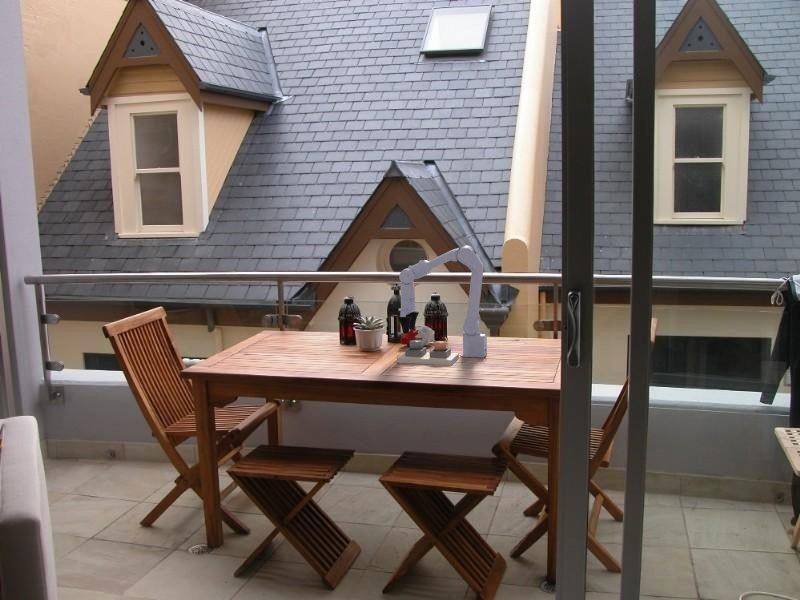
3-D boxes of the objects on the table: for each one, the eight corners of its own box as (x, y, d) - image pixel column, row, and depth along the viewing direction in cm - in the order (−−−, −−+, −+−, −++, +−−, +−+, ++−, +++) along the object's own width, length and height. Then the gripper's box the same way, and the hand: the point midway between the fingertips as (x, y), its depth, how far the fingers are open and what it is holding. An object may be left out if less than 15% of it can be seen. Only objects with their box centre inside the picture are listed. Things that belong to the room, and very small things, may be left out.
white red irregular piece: (435, 342, 344) (415, 353, 333) (414, 339, 351) (393, 350, 340) (433, 323, 342) (413, 333, 331) (412, 320, 349) (391, 330, 337)
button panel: (458, 358, 317) (458, 347, 317) (451, 365, 306) (451, 353, 305) (406, 355, 324) (405, 344, 323) (397, 362, 313) (396, 351, 312)
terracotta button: (447, 347, 314) (447, 341, 314) (444, 350, 310) (444, 343, 309) (436, 347, 316) (435, 340, 315) (432, 349, 311) (432, 343, 311)
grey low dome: (422, 346, 317) (422, 340, 317) (419, 349, 313) (419, 342, 313) (411, 346, 319) (411, 339, 318) (408, 348, 314) (408, 342, 314)
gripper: (404, 295, 330) (405, 327, 332) (392, 301, 316) (393, 334, 319) (420, 295, 328) (421, 328, 330) (409, 301, 314) (410, 335, 316)
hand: (408, 331), depth 324 cm, fingers open, 7 cm apart
